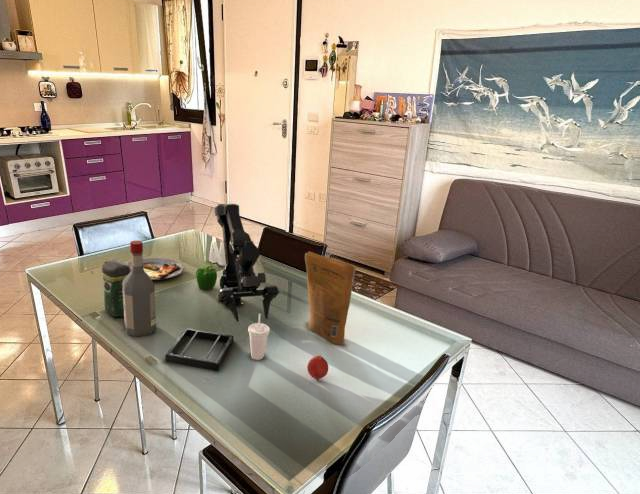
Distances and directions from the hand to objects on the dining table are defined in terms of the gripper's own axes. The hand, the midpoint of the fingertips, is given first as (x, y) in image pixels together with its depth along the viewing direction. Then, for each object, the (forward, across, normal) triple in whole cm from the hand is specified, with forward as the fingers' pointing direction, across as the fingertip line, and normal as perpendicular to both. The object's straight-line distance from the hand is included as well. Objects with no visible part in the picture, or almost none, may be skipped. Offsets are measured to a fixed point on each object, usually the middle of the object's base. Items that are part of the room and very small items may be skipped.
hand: (252, 320), depth 135 cm
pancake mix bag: (+6, +25, +7) cm, 27 cm away
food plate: (-38, -26, +51) cm, 69 cm away
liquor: (-4, -34, +17) cm, 38 cm away
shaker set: (-28, +42, +40) cm, 64 cm away
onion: (+21, +13, -9) cm, 27 cm away
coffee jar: (-14, -41, +26) cm, 50 cm away
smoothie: (+11, 0, +1) cm, 11 cm away
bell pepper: (-24, -7, +37) cm, 45 cm away
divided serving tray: (+7, -16, +5) cm, 18 cm away
